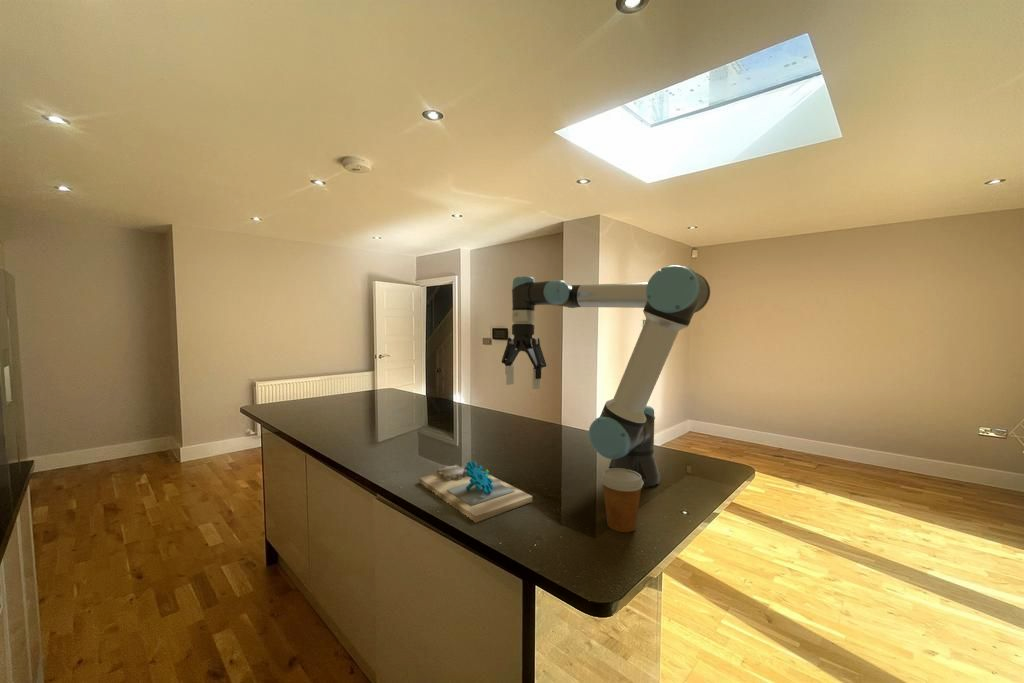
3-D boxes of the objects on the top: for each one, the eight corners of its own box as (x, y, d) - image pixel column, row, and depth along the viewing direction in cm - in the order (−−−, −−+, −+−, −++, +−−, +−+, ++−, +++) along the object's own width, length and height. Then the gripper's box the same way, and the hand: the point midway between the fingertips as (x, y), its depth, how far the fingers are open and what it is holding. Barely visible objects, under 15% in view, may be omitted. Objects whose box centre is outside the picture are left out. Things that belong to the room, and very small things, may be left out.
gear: (485, 495, 96) (462, 463, 99) (469, 509, 97) (447, 477, 100) (501, 485, 106) (480, 456, 109) (486, 498, 107) (466, 469, 110)
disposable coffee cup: (651, 533, 85) (652, 480, 85) (614, 539, 82) (615, 484, 82) (627, 513, 94) (628, 465, 94) (592, 518, 91) (593, 469, 91)
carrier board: (532, 501, 100) (532, 490, 100) (475, 522, 89) (475, 510, 89) (469, 469, 124) (469, 459, 124) (418, 482, 113) (418, 472, 112)
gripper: (492, 323, 134) (491, 383, 135) (540, 322, 115) (539, 392, 116) (508, 324, 139) (508, 381, 140) (557, 323, 120) (557, 390, 120)
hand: (522, 386), depth 128 cm, fingers open, 13 cm apart
